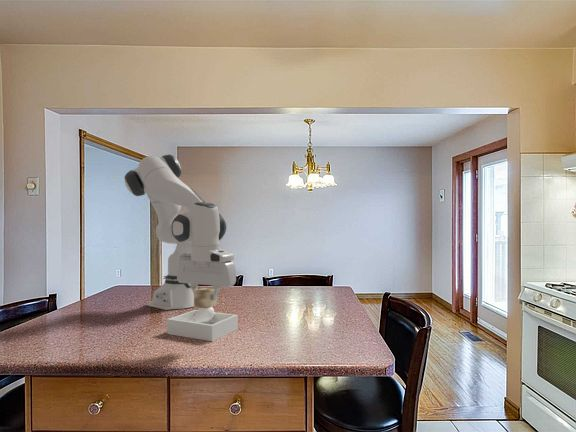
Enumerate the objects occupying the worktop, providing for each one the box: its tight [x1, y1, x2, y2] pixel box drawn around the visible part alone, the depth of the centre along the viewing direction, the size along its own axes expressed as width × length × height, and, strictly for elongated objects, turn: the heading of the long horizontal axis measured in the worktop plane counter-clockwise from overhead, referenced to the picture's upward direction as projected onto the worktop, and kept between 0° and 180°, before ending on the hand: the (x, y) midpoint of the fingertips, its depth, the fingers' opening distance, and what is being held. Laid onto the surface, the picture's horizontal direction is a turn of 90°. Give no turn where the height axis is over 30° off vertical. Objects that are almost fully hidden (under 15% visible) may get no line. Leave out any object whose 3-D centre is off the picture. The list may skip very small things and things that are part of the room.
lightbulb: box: [190, 306, 215, 323], centre depth 135 cm, size 6×6×11 cm
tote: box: [166, 309, 239, 342], centre depth 132 cm, size 19×15×5 cm
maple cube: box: [193, 287, 218, 309], centre depth 117 cm, size 5×5×5 cm
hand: (205, 299), depth 117 cm, fingers closed on maple cube, 5 cm apart
